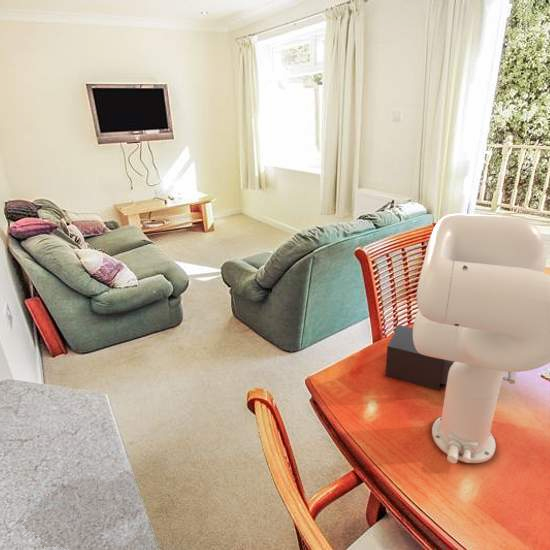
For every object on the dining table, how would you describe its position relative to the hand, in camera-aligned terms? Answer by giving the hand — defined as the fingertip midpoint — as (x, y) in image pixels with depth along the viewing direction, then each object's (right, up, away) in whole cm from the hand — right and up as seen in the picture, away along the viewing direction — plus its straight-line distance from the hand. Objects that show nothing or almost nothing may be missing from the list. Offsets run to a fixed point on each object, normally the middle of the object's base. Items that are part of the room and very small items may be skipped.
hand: (471, 344), depth 94 cm
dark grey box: (-10, -9, +11) cm, 17 cm away
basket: (+2, -11, +4) cm, 11 cm away
